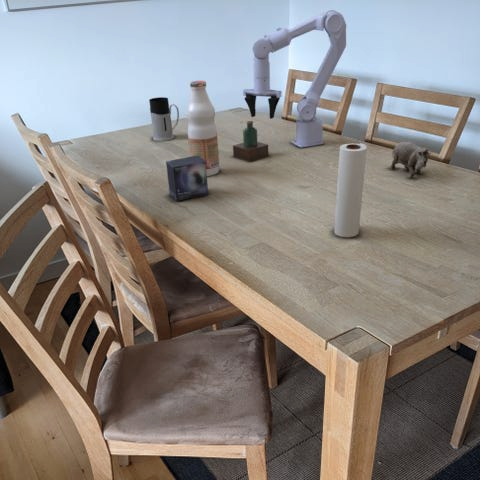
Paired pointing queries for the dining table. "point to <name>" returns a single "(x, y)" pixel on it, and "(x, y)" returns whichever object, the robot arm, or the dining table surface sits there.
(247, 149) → the block
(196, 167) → the small box
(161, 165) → the dining table surface
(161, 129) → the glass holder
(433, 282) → the dining table surface
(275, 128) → the dining table surface
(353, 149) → the paper towel roll
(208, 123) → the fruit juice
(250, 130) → the bottle
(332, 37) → the robot arm
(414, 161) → the rhinoceros figurine
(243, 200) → the dining table surface
